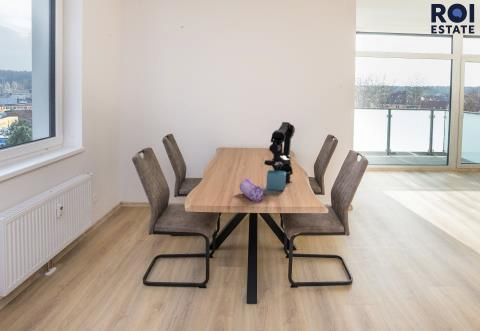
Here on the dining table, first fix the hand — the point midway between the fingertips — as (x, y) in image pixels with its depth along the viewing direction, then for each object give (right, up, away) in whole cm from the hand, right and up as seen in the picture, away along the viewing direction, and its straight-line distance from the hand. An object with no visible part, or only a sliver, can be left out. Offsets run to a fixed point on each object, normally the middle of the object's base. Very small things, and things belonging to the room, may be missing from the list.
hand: (277, 174), depth 286 cm
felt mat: (-8, -10, -5) cm, 14 cm away
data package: (-1, -9, +1) cm, 9 cm away
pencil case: (-17, -13, -20) cm, 30 cm away
